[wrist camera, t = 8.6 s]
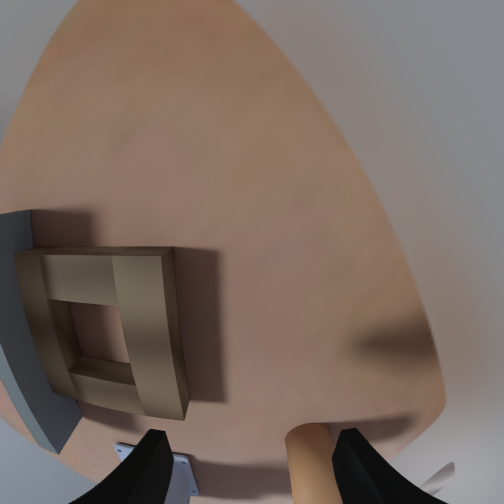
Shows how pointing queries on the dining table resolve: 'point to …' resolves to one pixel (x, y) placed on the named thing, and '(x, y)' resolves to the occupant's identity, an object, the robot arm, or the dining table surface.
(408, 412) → the dining table surface
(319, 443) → the dowel
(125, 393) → the socket block
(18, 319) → the wall
